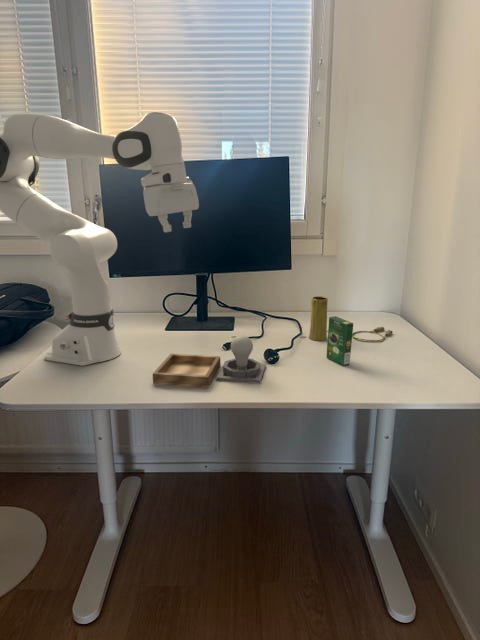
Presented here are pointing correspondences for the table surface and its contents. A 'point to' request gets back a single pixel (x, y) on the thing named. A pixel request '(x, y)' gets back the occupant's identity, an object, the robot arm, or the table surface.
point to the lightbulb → (241, 351)
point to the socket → (241, 372)
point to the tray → (187, 370)
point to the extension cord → (374, 332)
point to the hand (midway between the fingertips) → (178, 229)
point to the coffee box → (339, 340)
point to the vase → (318, 319)
